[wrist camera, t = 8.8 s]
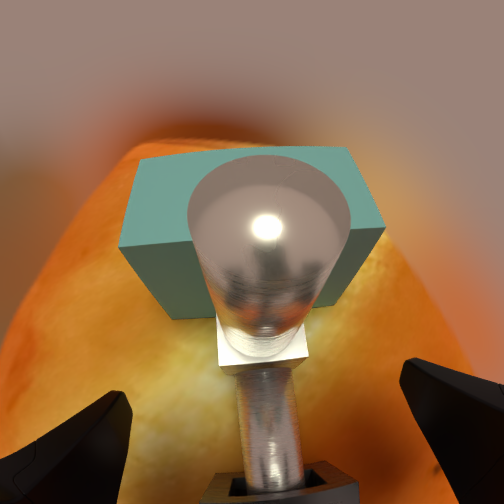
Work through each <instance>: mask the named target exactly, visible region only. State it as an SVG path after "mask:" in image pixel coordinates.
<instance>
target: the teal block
mask: <svg viewBox="0 0 504 504" xmlns="http://www.w3.org/2000/svg"><path fill="white" fill-rule="evenodd" d="M253 155H278V156H284V157H289V158H293V159H297V160H299V161H302V162H305V163H307V164H309V165H311V166H313V167H315V168H317V169H318V170H320V171H321V172H323V173H324V174H326V175H327V176H328V177H329V178H330V179H331V180H332V181H334V183H335V184H336V185H337V186H338V187H339V189H340V190H341V192H342V193H343V195H344V197H345V199H346V201H347V203H348V206H349V209H350V215H351V227H350V233H349V236H348V239H347V241H346V244H345V246H344V248H343V250H342V252H341V254H340V256H339V258H338V260H337V262H336V263H335V265H334V267H333V269H332V271H331V273H330V275H329V277H328V279H327V281H326V282H325V284H324V286H323V288H322V290H321V292H320V293H319V295H318V297H317V299H316V301H315V302H314V304H313V306H312V308H316V307H324V306H331V305H334V304H335V303H336V302H337V300H338V299H339V297H340V296H341V295H342V293H343V292H344V290H345V289H346V288H347V286H348V285H349V283H350V282H351V281H352V279H353V278H354V276H355V275H356V273H357V272H358V270H359V269H360V267H361V266H362V264H363V263H364V261H365V260H366V258H367V257H368V255H369V254H370V252H371V251H372V249H373V247H374V246H375V244H376V243H377V241H378V240H379V238H380V236H381V235H382V233H383V231H384V230H385V228H386V226H385V224H384V221H383V219H382V217H381V214H380V212H379V210H378V208H377V206H376V204H375V202H374V199H373V197H372V195H371V193H370V191H369V189H368V187H367V185H366V183H365V181H364V179H363V177H362V175H361V173H360V171H359V169H358V167H357V166H356V164H355V162H354V160H353V158H352V156H351V155H350V153H349V151H348V149H347V148H346V147H319V146H318V147H317V146H316V147H315V146H282V147H253V148H236V149H223V150H211V151H201V152H192V153H183V154H175V155H168V156H161V157H154V158H148V159H142V160H140V163H139V166H138V169H137V173H136V176H135V180H134V183H133V187H132V190H131V194H130V198H129V201H128V205H127V209H126V213H125V218H124V222H123V226H122V231H121V235H120V240H119V245H118V248H119V249H120V251H121V252H122V254H123V255H124V257H125V258H126V259H127V261H128V262H129V264H130V265H131V266H132V268H133V269H134V271H135V272H136V273H137V275H138V276H139V277H140V279H141V280H142V282H143V283H144V284H145V286H146V287H147V288H148V289H149V291H150V292H151V293H152V295H153V296H154V297H155V299H156V300H157V301H158V302H159V304H160V305H161V306H162V307H163V309H164V310H165V311H166V312H167V314H168V315H169V316H170V317H171V319H192V318H210V317H216V311H215V308H214V305H213V302H212V299H211V296H210V293H209V290H208V287H207V284H206V281H205V278H204V275H203V272H202V269H201V266H200V263H199V260H198V257H197V254H196V250H195V247H194V244H193V241H192V237H191V234H190V231H189V227H188V222H187V209H188V203H189V200H190V197H191V195H192V193H193V191H194V189H195V187H196V186H197V185H198V183H199V182H200V181H201V180H202V179H203V178H204V177H205V176H206V175H207V174H208V173H210V172H211V171H212V170H214V169H215V168H217V167H218V166H220V165H222V164H224V163H226V162H229V161H232V160H234V159H238V158H242V157H246V156H253Z"/></svg>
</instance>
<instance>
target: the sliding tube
mask: <svg viewBox="0 0 504 504" xmlns="http://www.w3.org/2000/svg"><path fill="white" fill-rule="evenodd" d="M187 222H188V227H189V231H190V234H191V237H192V241H193V244H194V247H195V250H196V254H197V257H198V260H199V263H200V266H201V269H202V272H203V275H204V278H205V281H206V284H207V287H208V290H209V293H210V296H211V299H212V302H213V305H214V308H215V311H216V321H217V340H218V356H219V366H220V367H221V369H222V370H223V371H224V372H225V374H226V375H235V384H236V395H237V406H238V416H239V426H240V436H241V445H242V454H243V463H244V472H245V480H246V488H247V496H252V495H264V494H273V493H281V492H288V491H294V490H300V489H306V488H305V478H304V468H303V459H302V450H301V441H300V433H299V424H298V416H297V408H296V400H295V392H294V384H293V377H292V369H294V368H296V367H297V366H298V365H300V364H301V363H302V362H303V361H304V360H305V359H306V358H307V357H309V355H308V349H307V343H306V336H305V330H304V324H303V322H304V320H305V318H306V316H307V315H308V313H309V311H310V310H311V308H312V306H313V304H314V302H315V301H316V299H317V297H318V295H319V293H320V292H321V290H322V288H323V286H324V284H325V282H326V281H327V279H328V277H329V275H330V273H331V271H332V269H333V267H334V265H335V263H336V262H337V260H338V258H339V256H340V254H341V252H342V250H343V248H344V246H345V244H346V241H347V239H348V236H349V233H350V227H351V215H350V209H349V206H348V203H347V201H346V199H345V197H344V195H343V193H342V192H341V190H340V189H339V187H338V186H337V185H336V184H335V183H334V181H332V180H331V179H330V178H329V177H328V176H327V175H326V174H324V173H323V172H321V171H320V170H318V169H317V168H315V167H313V166H311V165H309V164H307V163H305V162H302V161H299V160H297V159H293V158H289V157H284V156H278V155H253V156H246V157H242V158H238V159H234V160H232V161H229V162H226V163H224V164H222V165H220V166H218V167H217V168H215V169H214V170H212V171H211V172H210V173H208V174H207V175H206V176H205V177H204V178H203V179H202V180H201V181H200V182H199V183H198V185H197V186H196V187H195V189H194V191H193V193H192V195H191V197H190V200H189V203H188V209H187Z"/></svg>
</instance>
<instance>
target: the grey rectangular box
mask: <svg viewBox="0 0 504 504" xmlns="http://www.w3.org/2000/svg"><path fill="white" fill-rule="evenodd" d="M303 468H304V478H305V488H306V489H300V490H294V491H288V492H281V493H273V494H264V495H252V496H247V488H246V480H245V472H236V473H215V475H214V477H213V479H212V481H211V482H210V484H209V486H208V488H207V490H206V491H205V493H204V495H203V496H202V498H201V500H200V502H199V504H360V501H359V483H358V481H357V480H355V479H353V478H352V477H350V476H348V475H347V474H345V473H343V472H342V471H340V470H339V469H337V468H336V467H334V466H332V465H331V464H329V463H328V462H326V461H320V462H316V463H311V464H306V465H303Z"/></svg>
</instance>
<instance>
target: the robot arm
mask: <svg viewBox="0 0 504 504" xmlns="http://www.w3.org/2000/svg"><path fill="white" fill-rule="evenodd" d="M399 383H400V387H401V389H402V391H403V393H404V396H405V398H406V400H407V402H408V405H409V407H410V409H411V412H412V414H413V416H414V418H415V420H416V422H417V424H418V426H419V427H420V429H421V431H422V433H423V434H424V436H425V438H426V440H427V442H428V443H429V445H430V447H431V449H432V451H433V453H434V454H435V456H436V458H437V460H438V462H439V464H440V466H441V468H442V470H443V472H444V474H445V476H446V478H447V480H448V482H449V484H450V486H451V488H452V490H453V492H454V494H455V496H456V498H457V500H458V503H459V504H504V385H502V384H497V383H495V382H492V381H488V380H485V379H481V378H478V377H475V376H471V375H468V374H465V373H462V372H458V371H455V370H452V369H449V368H446V367H443V366H440V365H437V364H434V363H431V362H428V361H425V360H422V359H419V358H411V359H408V360H406V361H405V362H404V364H403V368H402V371H401V375H400V379H399ZM132 416H133V413H132V409H131V406H130V404H129V402H128V400H127V397H126V395H125V393H124V392H122V391H115V390H112V391H110V392H108V393H107V394H105V395H104V396H102V397H101V398H99V399H98V400H96V401H95V402H94V403H92V404H91V405H89V406H88V407H86V408H85V409H83V410H82V411H80V412H79V413H77V414H76V415H74V416H73V417H71V418H70V419H68V420H66V421H65V422H63V423H62V424H60V425H59V426H57V427H56V428H54V429H53V430H51V431H49V432H48V433H46V434H45V435H43V436H42V437H40V438H38V439H37V440H36V441H33V442H32V443H30V444H29V445H27V446H25V447H24V448H22V449H20V450H18V451H17V452H15V453H13V454H11V455H8V456H6V457H4V458H2V459H0V504H117V499H118V494H119V489H120V484H121V480H122V475H123V471H124V467H125V463H126V458H127V454H128V447H129V438H130V431H131V423H132Z"/></svg>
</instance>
